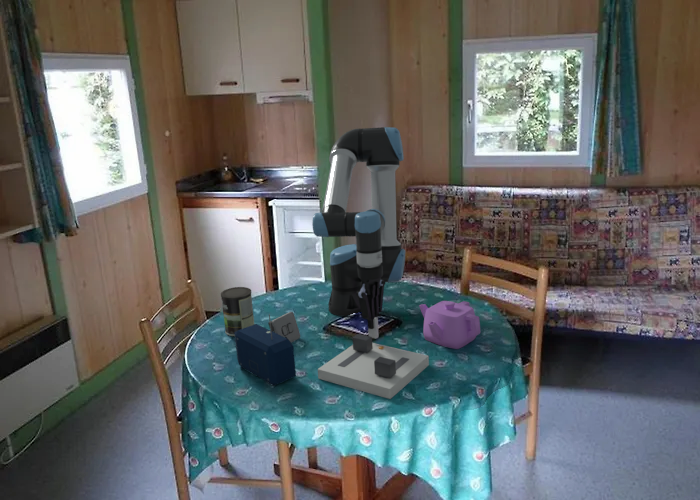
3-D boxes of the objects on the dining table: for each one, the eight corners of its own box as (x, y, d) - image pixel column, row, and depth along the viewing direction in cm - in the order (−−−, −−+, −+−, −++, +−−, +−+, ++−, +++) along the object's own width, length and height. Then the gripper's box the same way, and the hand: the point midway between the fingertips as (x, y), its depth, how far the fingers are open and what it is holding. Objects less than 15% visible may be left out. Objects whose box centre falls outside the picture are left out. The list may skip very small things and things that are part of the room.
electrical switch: (281, 348, 202) (276, 321, 200) (270, 346, 205) (265, 319, 203) (301, 338, 209) (297, 311, 207) (290, 336, 212) (285, 310, 210)
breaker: (380, 369, 177) (379, 356, 176) (395, 373, 175) (395, 360, 173) (374, 374, 175) (374, 361, 174) (390, 378, 172) (389, 364, 171)
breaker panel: (360, 348, 199) (359, 338, 198) (428, 365, 185) (428, 354, 185) (318, 378, 182) (317, 368, 181) (390, 399, 168) (389, 388, 167)
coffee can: (227, 338, 212) (222, 299, 208) (223, 327, 221) (218, 289, 217) (257, 333, 215) (253, 294, 211) (252, 322, 224) (248, 284, 220)
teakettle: (483, 348, 194) (483, 310, 191) (428, 352, 194) (427, 314, 190) (470, 326, 211) (469, 291, 207) (419, 329, 210) (418, 295, 206)
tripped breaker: (358, 345, 193) (358, 333, 192) (372, 349, 190) (371, 336, 189) (353, 349, 191) (352, 337, 189) (367, 353, 188) (366, 340, 187)
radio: (300, 378, 182) (294, 314, 177) (275, 389, 177) (268, 323, 171) (259, 356, 198) (253, 296, 192) (235, 366, 192) (228, 305, 186)
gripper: (368, 272, 181) (372, 347, 188) (391, 259, 191) (394, 331, 198) (347, 268, 185) (351, 342, 192) (370, 256, 195) (374, 327, 202)
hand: (373, 336), depth 195 cm, fingers closed
